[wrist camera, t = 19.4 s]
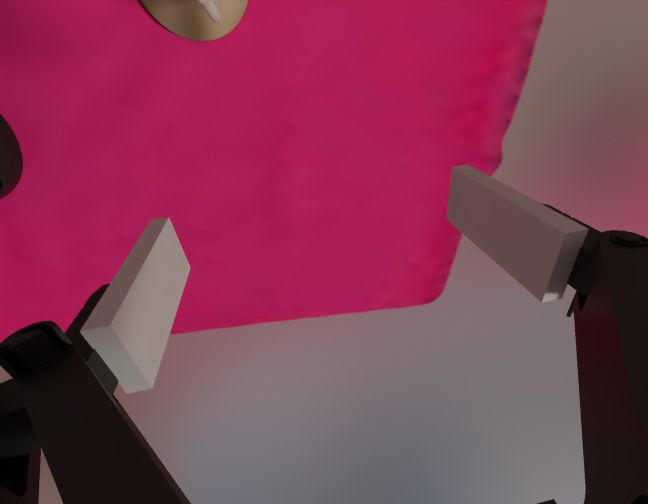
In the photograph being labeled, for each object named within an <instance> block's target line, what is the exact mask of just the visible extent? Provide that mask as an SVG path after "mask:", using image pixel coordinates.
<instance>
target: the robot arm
mask: <svg viewBox="0 0 648 504" xmlns="http://www.w3.org/2000/svg"><path fill="white" fill-rule="evenodd" d="M22 167H23V161H22V154H21V150H20V146H19V144H18V141H17V139H16V137H15V135H14V133H13V131H12V129H11V128H10V126H9V125H8V123H7V122H6V120H5V119H4V118H3V116H2V115H1V114H0V199H1V198H3V197H5V196H6V195H8V194H9V193H10V192H11V191H12V190H13V189H14V188H15V187H16V185H17V184H18V182H19V180H20V177H21V174H22ZM447 220H448V221H449V222H450V223H452V224H453V225H454V226H455V227H456V228H457V229H458V230H460V231H461V232H462V233H463V234H464V235H465V236H467V237H468V238H469V239H470V240H471V241H472V242H473V243H474V244H476V245H477V246H478V247H479V248H480V249H481V250H482V251H484V252H485V253H486V254H487V255H488V256H489V257H490V258H492V259H493V260H494V261H495V262H496V263H497V264H498V265H499V266H501V267H502V268H503V269H504V270H505V271H506V272H508V273H509V274H510V275H511V276H512V277H513V278H514V279H515V280H517V281H518V282H519V283H520V284H521V285H522V286H523V287H525V288H526V289H527V290H528V291H529V292H530V293H531V294H532V295H534V296H535V297H536V298H537V299H538V300H540V302H547V301H551V300H556V299H561V298H562V297H563V294H564V292H565V289H566V287H567V284H569V285H570V286H571V287H573V288H574V289H576V290H577V291H576V293H575V296H574V298H573V301H572V303H571V305H570V308H569V310H568V313H567V315H566V316H568V317H570V316H571V314H572V313H573V312H574V320H575V336H576V350H577V366H578V379H579V395H580V410H581V425H582V440H583V455H584V470H585V484H586V493H585V501H584V504H648V238H646V237H644V236H641V235H638V234H635V233H632V232H627V231H617V230H611V231H605V232H600V231H598V230H596V229H594V228H592V227H590V226H588V225H586V224H584V223H582V222H581V221H578V220H576V219H575V218H571V216H569V215H567V214H565V213H562V212H561V211H559V210H557V209H556V208H554V207H552V206H549V205H546V204H542V203H539V202H537V201H535V200H533V199H531V198H529V197H527V196H526V195H524V194H522V193H520V192H518V191H516V190H514V189H512V188H510V187H509V186H506V185H505V184H503V183H501V182H499V181H497V180H495V179H494V178H492V177H490V176H488V175H486V174H484V173H482V172H480V171H478V170H477V169H475V168H473V167H471V166H469V165H462V166H457V167H452V173H451V183H450V192H449V201H448V211H447ZM189 271H190V266H189V263H188V261H187V259H186V256H185V254H184V252H183V249H182V247H181V245H180V242H179V240H178V237H177V235H176V233H175V230H174V228H173V226H172V223H171V221H170V219H169V217H167V218H161V219H156V220H151V221H150V223H149V224H148V226H147V227H146V229H145V230H144V232H143V234H142V235H141V237H140V238H139V240H138V241H137V243H136V244H135V246H134V248H133V249H132V251H131V252H130V254H129V255H128V257H127V258H126V260H125V262H124V263H123V265H122V266H121V268H120V269H119V271H118V272H117V274H116V276H115V277H114V279H113V280H112V282H111V283H110V284H106V285H103V286H101V287H100V288H99V289H98V290H97V291H96V292H94V293H93V294H92V295H91V296H90V297H89V299H88V300H87V302H86V303H85V305H84V308H82V309H81V310H80V312H79V313H78V317H76V318H75V319H74V321H73V322H72V323H71V325H70V326H69V328H68V329H67V331H66V332H65V334H64V333H63V331H62V330H61V329H60V328H59V326H58V325H57V324H56V323H54V322H52V321H42V322H38V323H34V324H31V325H29V326H26V327H24V328H22V329H20V330H18V331H17V332H15V333H13V334H12V335H10V336H8V337H7V338H6V339H5V340H4V341H3V342H1V343H0V366H1V367H2V368H3V369H4V370H5V371H7V372H8V373H9V374H10V375H11V376H12V377H13V378H12V379H10V380H8V381H5V382H3V383H0V504H38V500H39V479H40V457H41V448H42V450H43V453H44V455H45V458H46V460H47V463H48V465H49V468H50V471H51V473H52V476H53V478H54V481H55V483H56V486H57V488H58V491H59V493H60V496H61V499H62V501H63V504H191V503H190V502H189V500H188V499H187V497H186V496H185V495H184V493H183V492H182V490H181V489H180V487H179V486H178V485H177V483H176V482H175V480H174V479H173V478H172V476H171V475H170V473H169V472H168V471H167V470H166V468H165V466H164V465H163V463H162V462H161V461H160V459H159V458H158V456H157V455H156V454H155V452H154V451H153V449H152V448H151V447H150V445H149V444H148V442H147V441H146V439H145V438H144V437H143V435H142V434H141V432H140V431H139V430H138V428H137V427H136V425H135V424H134V423H133V421H132V420H131V418H130V417H129V416H128V414H127V413H126V411H125V410H124V408H123V407H122V406H121V404H120V403H119V401H118V400H117V399H116V398H115V396H114V395H113V393H114V391H115V389H116V386H117V384H118V383H119V384H120V385H121V387H122V388H123V389H124V391H125V392H126V393H127V394H129V393H133V392H138V391H142V390H147V389H151V388H153V385H154V382H155V379H156V375H157V372H158V369H159V366H160V363H161V359H162V356H163V353H164V350H165V347H166V344H167V340H168V337H169V334H170V331H171V328H172V325H173V322H174V318H175V315H176V312H177V309H178V306H179V303H180V299H181V296H182V293H183V290H184V287H185V283H186V280H187V277H188V274H189ZM538 504H556V502H555V500H554V499H553V500H549V501H545V502H542V503H538Z"/></svg>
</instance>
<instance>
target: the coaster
mask: <svg viewBox="0 0 648 504" xmlns="http://www.w3.org/2000/svg"><path fill="white" fill-rule="evenodd" d="M141 1H142V2H143V4H144V5H145V7H146V8H147V9H148V11H149V12H150V13H151V14H152V15H153V16H154V18H155V19H156V20H157V21H159V22H160V23H161V24H162V25H163V26H164V27H166V28H167V29H168V30H170V31H172V32H173V33H175V34H177V35H179V36H182V37H184V38H187V39H191V40H196V41H210V40H215V39H218V38H221V37H223V36H224V35H226V34H228V33H229V32H230V31H232V30H233V29H234V28H235V26H236V25H237V24H238V23H239V21H240V20H241V18H242V16H243V14H244V12H245V9H246V6H247V3H248V0H218V3H219V6H220V10H221V15H222V20H221V21H220V22H219V23H215V22H214V21H213V20H212V19H211V18H210V16H209V15H208V14H207V12H206V11H205V10H204V8H203V7H202V5H201V4H200V3H199V2H198V0H141Z"/></svg>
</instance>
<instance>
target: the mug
mask: <svg viewBox="0 0 648 504" xmlns="http://www.w3.org/2000/svg"><path fill="white" fill-rule="evenodd" d="M198 2H199V3H200V4H201V5H202V7H203V8H204V10H205V11H206V12H207V14H208V15H209V16H210V18H211V19H212V20H213V21H214V22H215V23H219V22H220V21H221V20H222V15H221V10H220V6H219V3H218V0H198Z"/></svg>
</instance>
